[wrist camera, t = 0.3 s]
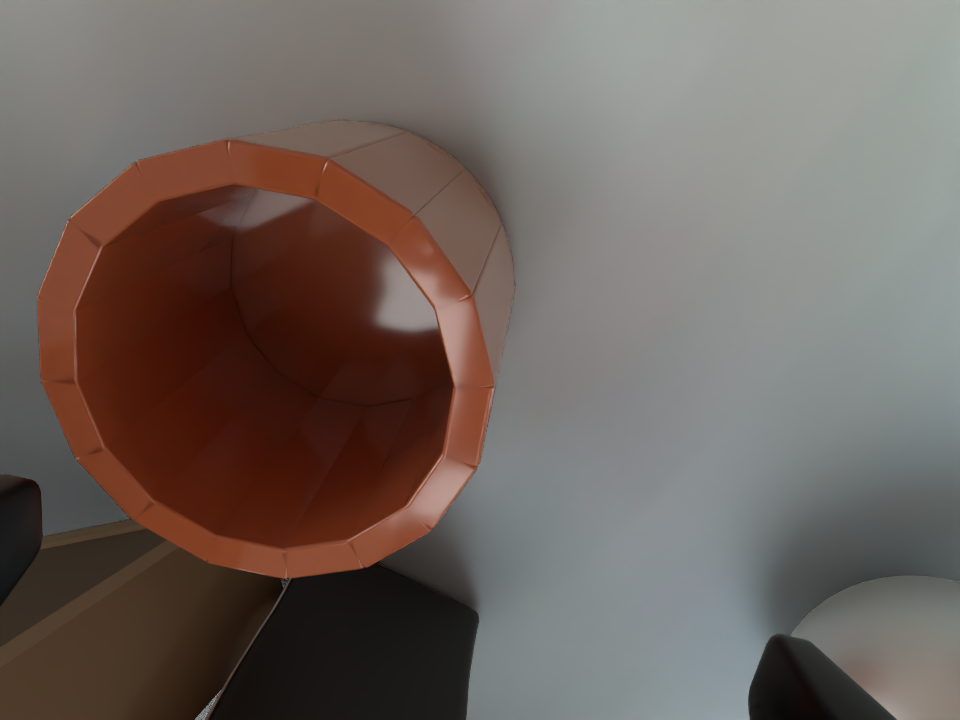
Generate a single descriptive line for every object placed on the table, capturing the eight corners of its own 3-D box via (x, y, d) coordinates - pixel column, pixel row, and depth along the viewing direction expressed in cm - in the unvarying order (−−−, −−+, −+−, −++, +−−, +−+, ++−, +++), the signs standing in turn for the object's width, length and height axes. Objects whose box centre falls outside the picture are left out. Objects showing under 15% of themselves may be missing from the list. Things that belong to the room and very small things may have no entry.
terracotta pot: (485, 441, 24) (450, 614, 16) (211, 386, 25) (46, 530, 17) (541, 153, 21) (531, 195, 13) (223, 94, 21) (26, 100, 13)
